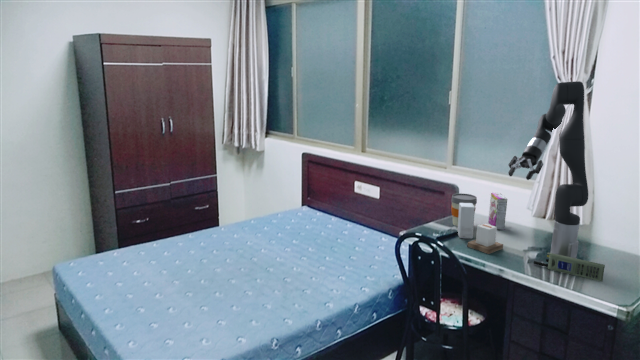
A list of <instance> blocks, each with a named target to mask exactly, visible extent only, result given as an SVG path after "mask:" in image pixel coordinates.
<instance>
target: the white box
mask: <svg viewBox="0 0 640 360" xmlns="http://www.w3.org/2000/svg"><path fill="white" fill-rule="evenodd" d="M497 231H498V230H497V227H495V226H492V225H490V224H489V223H482V224H478V225H477V227H476V235H475V236H476V237H475V240H476V243H478V244H481V245H484V246H487V247H488V246H491V245H493V244H495V242H496V240H497V239H496V238H497Z"/></svg>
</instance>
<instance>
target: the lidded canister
mask: <svg viewBox="0 0 640 360" xmlns="http://www.w3.org/2000/svg"><path fill="white" fill-rule="evenodd" d="M450 201H451V206H450V207H451V209H450V211H451V215H452V224H453V225H454V226H455V227H458V216H459V203H472V204H473V205H474V207H475V210H476V208H477V207H476V204H477V201H478V199H477V196H476V195H473V194H470V193H462V192H461V193H453V194H452V195H451V200H450ZM475 214H476V212H475V213H474V215H475Z"/></svg>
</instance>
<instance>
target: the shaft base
mask: <svg viewBox="0 0 640 360" xmlns="http://www.w3.org/2000/svg"><path fill="white" fill-rule="evenodd" d="M467 247H468V248H470V249H474V250H475V251H480V252H482V253H485V254H488V255H489V254H493V253H495V252H498V251H500V250H503V249H504V244H503V243H501V242H497V241H495V244H493V245H491V246H488V247H487V246H484V245H481V244H478V243H476V239H474V240H470V241H468V242H467Z"/></svg>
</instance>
